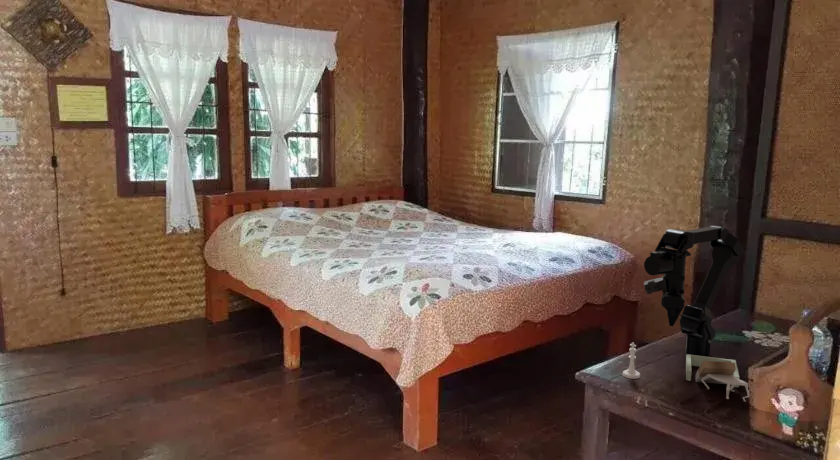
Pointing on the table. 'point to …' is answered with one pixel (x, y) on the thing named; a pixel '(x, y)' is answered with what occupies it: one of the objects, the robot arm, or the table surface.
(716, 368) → the two-tone wooden slab
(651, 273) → the robot arm
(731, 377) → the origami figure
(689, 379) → the green c-shaped bracket
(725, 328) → the table surface
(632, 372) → the chess piece
